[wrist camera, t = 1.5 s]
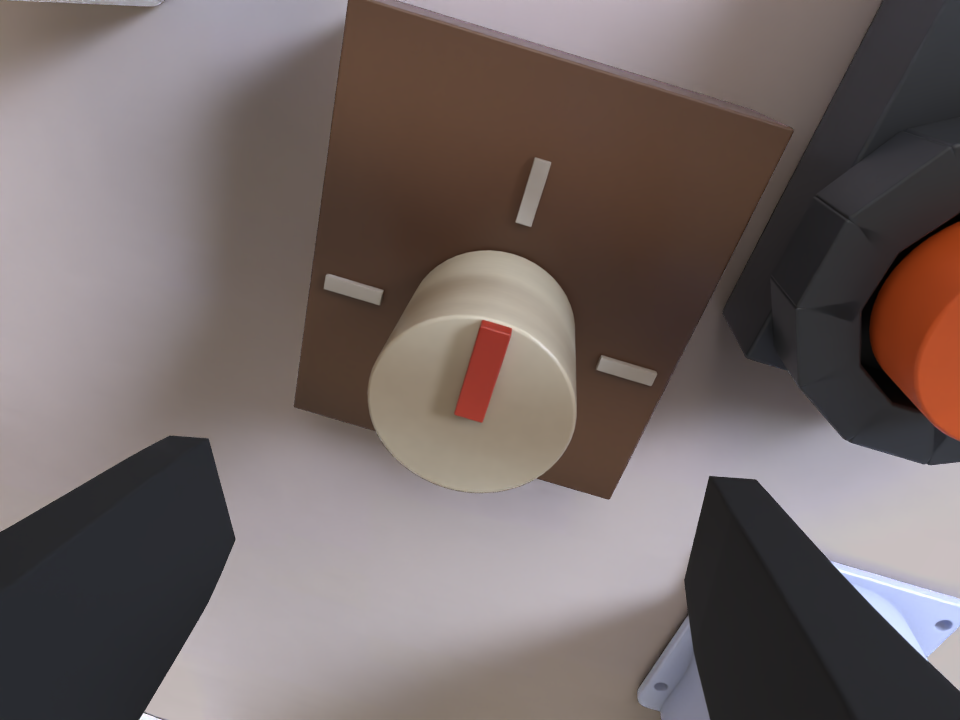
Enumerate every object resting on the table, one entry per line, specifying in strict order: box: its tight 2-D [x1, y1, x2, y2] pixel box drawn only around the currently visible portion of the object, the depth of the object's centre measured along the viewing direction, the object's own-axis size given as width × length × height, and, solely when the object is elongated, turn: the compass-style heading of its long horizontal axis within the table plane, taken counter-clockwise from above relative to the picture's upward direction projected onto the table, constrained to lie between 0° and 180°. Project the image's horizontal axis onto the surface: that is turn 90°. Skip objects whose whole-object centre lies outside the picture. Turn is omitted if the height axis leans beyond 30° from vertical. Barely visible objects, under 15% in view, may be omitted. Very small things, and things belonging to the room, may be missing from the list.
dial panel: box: [294, 0, 794, 499], centre depth 16 cm, size 10×9×3 cm
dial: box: [367, 250, 577, 493], centre depth 13 cm, size 4×4×4 cm
